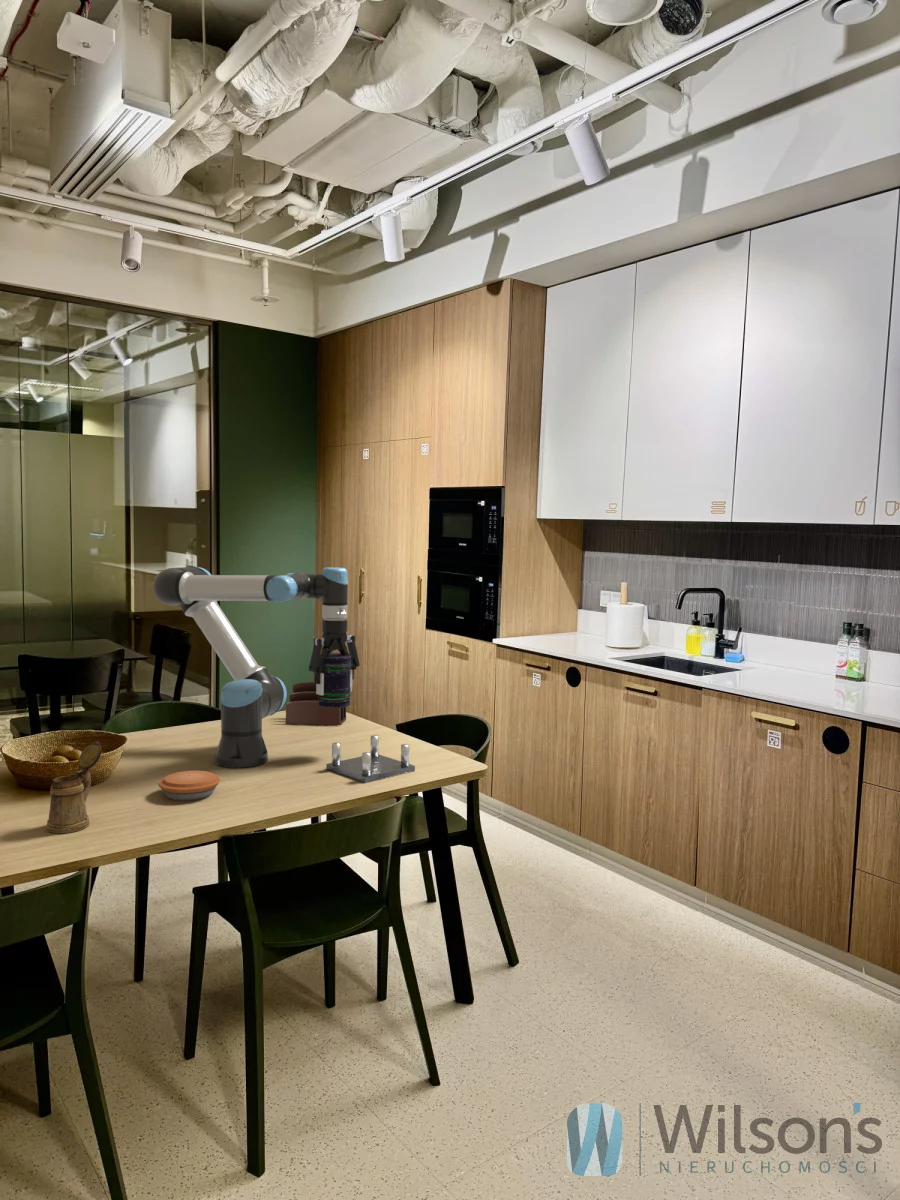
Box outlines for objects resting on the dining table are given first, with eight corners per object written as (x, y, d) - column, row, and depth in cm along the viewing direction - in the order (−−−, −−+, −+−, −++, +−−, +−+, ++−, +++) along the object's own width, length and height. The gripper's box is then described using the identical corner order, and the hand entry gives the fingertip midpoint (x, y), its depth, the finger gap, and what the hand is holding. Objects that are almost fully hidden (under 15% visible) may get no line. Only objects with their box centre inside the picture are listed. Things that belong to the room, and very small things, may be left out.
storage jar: (314, 702, 259) (314, 654, 258) (344, 700, 263) (345, 652, 262) (323, 708, 250) (323, 658, 249) (355, 706, 254) (355, 657, 253)
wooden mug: (113, 818, 200) (112, 743, 198) (64, 836, 188) (62, 756, 186) (87, 812, 204) (86, 738, 202) (37, 829, 192) (35, 751, 190)
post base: (365, 782, 231) (365, 755, 230) (326, 769, 244) (326, 743, 243) (414, 770, 243) (415, 745, 243) (375, 758, 256) (375, 733, 256)
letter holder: (293, 718, 310) (293, 680, 309) (346, 720, 308) (346, 682, 307) (285, 724, 300) (285, 685, 299) (340, 726, 298) (340, 687, 297)
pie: (233, 790, 223) (233, 771, 223) (193, 807, 209) (192, 787, 209) (186, 782, 229) (186, 764, 229) (144, 798, 215) (144, 779, 215)
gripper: (310, 622, 244) (310, 698, 246) (372, 618, 260) (371, 690, 261) (296, 620, 250) (295, 695, 251) (357, 616, 265) (356, 686, 267)
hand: (334, 692), depth 256 cm, fingers closed on storage jar, 10 cm apart
